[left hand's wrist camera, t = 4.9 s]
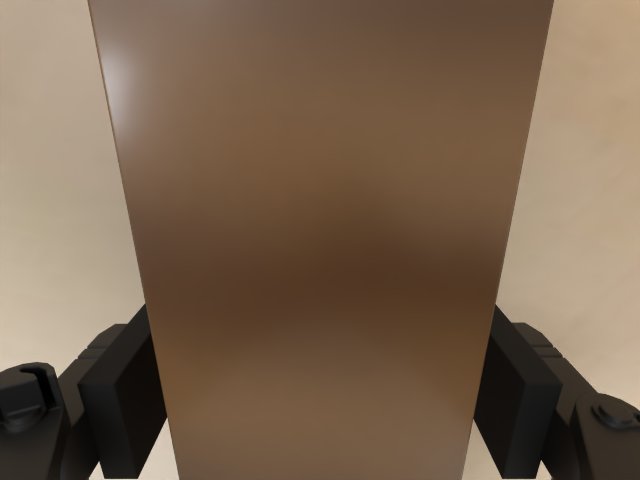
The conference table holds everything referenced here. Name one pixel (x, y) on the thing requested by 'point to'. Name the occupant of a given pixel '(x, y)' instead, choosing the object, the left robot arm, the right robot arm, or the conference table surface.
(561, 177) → the conference table surface
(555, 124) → the conference table surface
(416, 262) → the bar
